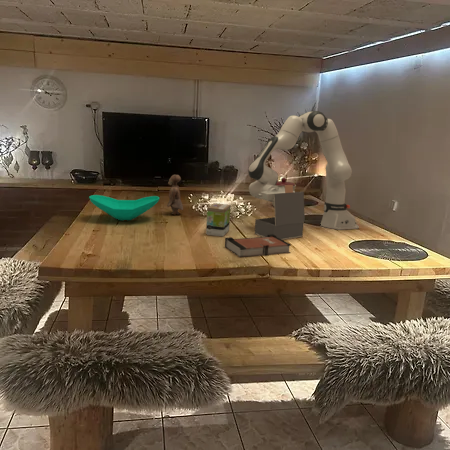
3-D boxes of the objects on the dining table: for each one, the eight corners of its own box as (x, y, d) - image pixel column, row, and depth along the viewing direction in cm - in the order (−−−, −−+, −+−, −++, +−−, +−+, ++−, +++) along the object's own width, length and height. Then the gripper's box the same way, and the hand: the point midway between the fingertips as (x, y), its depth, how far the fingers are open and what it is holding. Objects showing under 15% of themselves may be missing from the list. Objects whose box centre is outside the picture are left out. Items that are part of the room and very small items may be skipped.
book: (240, 258, 194) (241, 247, 193) (224, 247, 210) (225, 237, 208) (291, 254, 205) (291, 243, 203) (272, 244, 220) (273, 234, 219)
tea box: (224, 236, 228) (225, 209, 224) (205, 235, 229) (206, 207, 226) (229, 230, 242) (231, 203, 238) (212, 228, 244) (213, 202, 240)
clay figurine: (168, 211, 281) (168, 172, 275) (183, 212, 282) (184, 173, 276) (166, 216, 269) (166, 175, 263) (182, 216, 269) (183, 176, 263)
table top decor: (86, 224, 239) (85, 200, 236) (93, 213, 265) (92, 192, 262) (159, 225, 245) (159, 202, 242) (159, 214, 272) (159, 193, 269)
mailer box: (282, 229, 248) (283, 216, 246) (302, 236, 235) (303, 222, 233) (254, 233, 236) (255, 219, 234) (274, 241, 224) (275, 225, 222)
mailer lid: (302, 184, 231) (303, 184, 231) (303, 221, 233) (304, 221, 232) (273, 185, 220) (274, 185, 219) (275, 225, 222) (276, 225, 221)
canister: (298, 207, 318) (300, 178, 313) (287, 210, 303) (290, 180, 298) (275, 203, 327) (277, 175, 322) (264, 207, 312) (266, 177, 307)
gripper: (256, 188, 231) (273, 192, 220) (285, 186, 242) (302, 190, 231) (255, 200, 232) (272, 204, 221) (284, 197, 244) (301, 202, 233)
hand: (288, 197), depth 226 cm, fingers closed, pressing on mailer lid
